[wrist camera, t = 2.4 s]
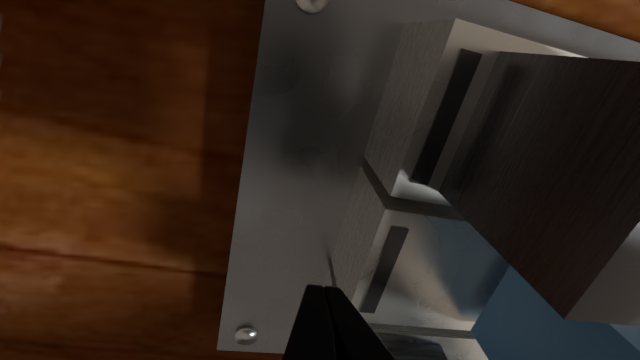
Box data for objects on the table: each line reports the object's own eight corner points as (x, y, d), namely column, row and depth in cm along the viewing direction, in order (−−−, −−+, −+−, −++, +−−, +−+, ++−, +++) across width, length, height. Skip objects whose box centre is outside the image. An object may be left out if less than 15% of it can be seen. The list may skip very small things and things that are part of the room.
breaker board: (536, 344, 19) (705, 552, 11) (222, 322, 15) (161, 606, 8) (732, 84, 13) (1415, 160, 5) (277, -59, 9) (237, -579, 1)
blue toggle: (532, 335, 11) (660, 488, 7) (470, 330, 10) (572, 492, 7) (591, 256, 9) (786, 397, 6) (521, 246, 9) (687, 393, 5)
